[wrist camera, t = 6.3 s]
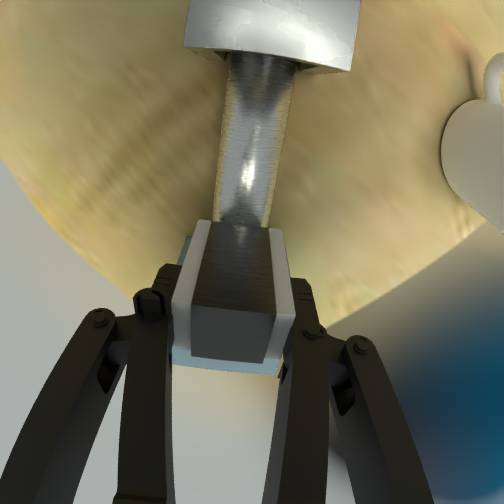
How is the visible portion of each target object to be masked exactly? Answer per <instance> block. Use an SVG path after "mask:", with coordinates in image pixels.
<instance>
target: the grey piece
mask: <svg viewBox="0 0 504 504" xmlns="http://www.w3.org/2000/svg"><path fill="white" fill-rule="evenodd" d="M296 66H297V61H292V60H287V59H281V58H275V57H269V56H262V55H254V54H246V53H237V52H232V56H231V62H230V69H229V76H228V83H227V90H226V98H225V105H224V113H223V121H222V129H221V138H220V146H219V155H218V164H217V174H216V184H215V194H214V205H213V216H212V222H211V226H210V230H209V234H208V237H207V241H206V245H205V249H204V253H203V257H202V261H201V265H200V269H199V273H198V277H197V281H196V285H195V289H194V293H193V298H192V302H191V356H192V357H200V358H208V359H216V360H225V361H235V362H246V363H258V364H263V361H264V358H265V354H266V351H267V347H268V344H269V340H270V337H271V333H272V330H273V326H274V323H275V319H276V315H277V311H276V300H275V288H274V278H273V267H272V256H271V246H270V236H269V228H267V227H268V222H269V217H270V211H271V206H272V201H273V195H274V190H275V184H276V179H277V173H278V168H279V162H280V157H281V151H282V146H283V140H284V135H285V129H286V123H287V118H288V112H289V106H290V101H291V95H292V89H293V83H294V78H295V72H296Z"/></svg>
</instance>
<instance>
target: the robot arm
mask: <svg viewBox="0 0 504 504" xmlns="http://www.w3.org/2000/svg"><path fill="white" fill-rule="evenodd" d="M211 222H212V221H209V220H200V219H198V222H197V225H196V228H195V231H194V234H193V236H192V239H191V242H190V245H189V248H188V251H187V254H186V257H185V260H184V263H183V265H175V264H167V263H166V264H165V265H164V266H162V267H161V268H160V269H159V271H158V273H157V275H156V278H155V280H154V284H153V285H152V288H145V289H142V290H140V291H138V292H137V293H136V294H135V295H134V297H133V302H134V308H135V314H133V315H129V316H119V317H115V314H114V313H113V312H112V311H111V310H109V309H106V308H98V309H94V310H92V311H90V312H89V313H88V314H87V315H86V316H85V318H84V319H83V321H82V323H81V324H80V326H79V327H78V329H77V330H76V332H75V334H74V335H73V337H72V338H71V340H70V341H69V343H68V345H67V346H66V348H65V350H64V352H63V353H62V354H61V356H60V358H59V360H58V361H57V363H56V365H55V366H54V368H53V370H52V372H51V373H50V375H49V377H48V379H47V380H46V382H45V384H44V386H43V388H42V390H41V391H40V394H39V395H38V397H37V399H36V401H35V403H34V405H33V407H32V409H31V411H30V413H29V415H28V417H27V419H26V421H25V423H24V425H23V427H22V429H21V431H20V433H19V436H18V438H17V440H16V442H15V445H14V447H13V449H12V452H11V454H10V456H9V459H8V461H7V464H6V466H5V468H4V471H3V474H2V476H1V479H0V504H73V501H74V497H75V494H76V491H77V488H78V485H79V482H80V479H81V476H82V473H83V470H84V467H85V465H86V462H87V459H88V456H89V454H90V451H91V448H92V445H93V443H94V440H95V437H96V435H97V433H98V430H99V427H100V425H101V422H102V420H103V417H104V415H105V412H106V410H107V407H108V405H109V403H110V400H111V398H112V395H113V393H114V391H115V388H116V386H117V384H118V381H119V379H120V377H121V374H122V372H123V370H124V368H125V365H126V364H127V369H126V377H125V385H124V393H123V402H122V412H121V423H120V424H121V425H120V438H119V455H118V456H119V457H118V487H117V493H116V495H115V496H114V498H113V503H112V504H176V502H175V489H174V474H173V452H172V347H173V343H174V348H177V349H184V350H191V302H192V298H193V293H194V289H195V285H196V281H197V277H198V273H199V269H200V265H201V261H202V257H203V253H204V249H205V245H206V241H207V237H208V234H209V230H210V226H211ZM269 236H270V246H271V256H272V267H273V278H274V288H275V300H276V311H277V315H276V319H275V323H274V326H273V330H272V333H271V337H270V340H269V344H268V347H267V351H266V354H265V358H268V359H281V356H282V354H283V357H284V362H283V365H282V367H281V370H280V372H279V375H278V378H280V382H279V390H278V399H277V405H276V413H275V421H274V428H273V436H272V442H271V449H270V455H269V462H268V468H267V474H266V481H265V487H264V493H263V499H262V504H325V500H326V486H327V469H328V444H329V400H330V403H331V407H332V411H333V415H334V418H335V422H336V426H337V429H338V433H339V437H340V441H341V445H342V449H343V453H344V457H345V461H346V465H347V469H348V473H349V477H350V481H351V486H352V490H353V494H354V498H355V503H356V504H434V501H433V498H432V495H431V491H430V488H429V485H428V482H427V479H426V476H425V473H424V470H423V466H422V463H421V461H420V458H419V455H418V452H417V449H416V446H415V444H414V441H413V438H412V435H411V432H410V430H409V427H408V425H407V422H406V419H405V417H404V414H403V412H402V409H401V407H400V404H399V401H398V399H397V397H396V394H395V392H394V389H393V387H392V384H391V382H390V380H389V377H388V375H387V373H386V371H385V368H384V366H383V363H382V361H381V359H380V356H379V354H378V352H377V350H376V347H375V346H374V344H373V343H372V341H370V340H369V339H368V338H366V337H364V336H359V335H355V336H351V337H350V338H348V339H347V341H344V340H341V339H337V338H334V337H332V336H330V335H328V334H327V331H326V329H325V328H324V327H323V326H322V325H320V323H319V319H318V315H317V310H316V306H315V302H314V297H313V293H312V289H311V286H310V285H309V283H308V282H307V281H306V280H305V279H301V278H291V277H290V276H289V270H288V264H287V258H286V252H285V246H284V240H283V235H282V230H281V229H274V228H269Z"/></svg>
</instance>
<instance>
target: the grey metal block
mask: <svg viewBox="0 0 504 504" xmlns="http://www.w3.org/2000/svg"><path fill="white" fill-rule="evenodd" d="M360 4H361V0H190V4H189V10H188V15H187V21H186V27H185V33H184V40H183V47H184V48H186V49H188V50H190V51H192V52H194V53H196V54H198V55H200V56H202V57H204V58H206V59H213V60H224V57H225V51H226V52H237V53H246V54H254V55H262V56H269V57H275V58H281V59H287V60H292V61H298V62H301V68H300V71H302V72H307V73H312V74H316V75H318V74H327V73H337V72H349V71H350V67H351V62H352V56H353V50H354V44H355V38H356V32H357V25H358V18H359V11H360Z"/></svg>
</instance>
